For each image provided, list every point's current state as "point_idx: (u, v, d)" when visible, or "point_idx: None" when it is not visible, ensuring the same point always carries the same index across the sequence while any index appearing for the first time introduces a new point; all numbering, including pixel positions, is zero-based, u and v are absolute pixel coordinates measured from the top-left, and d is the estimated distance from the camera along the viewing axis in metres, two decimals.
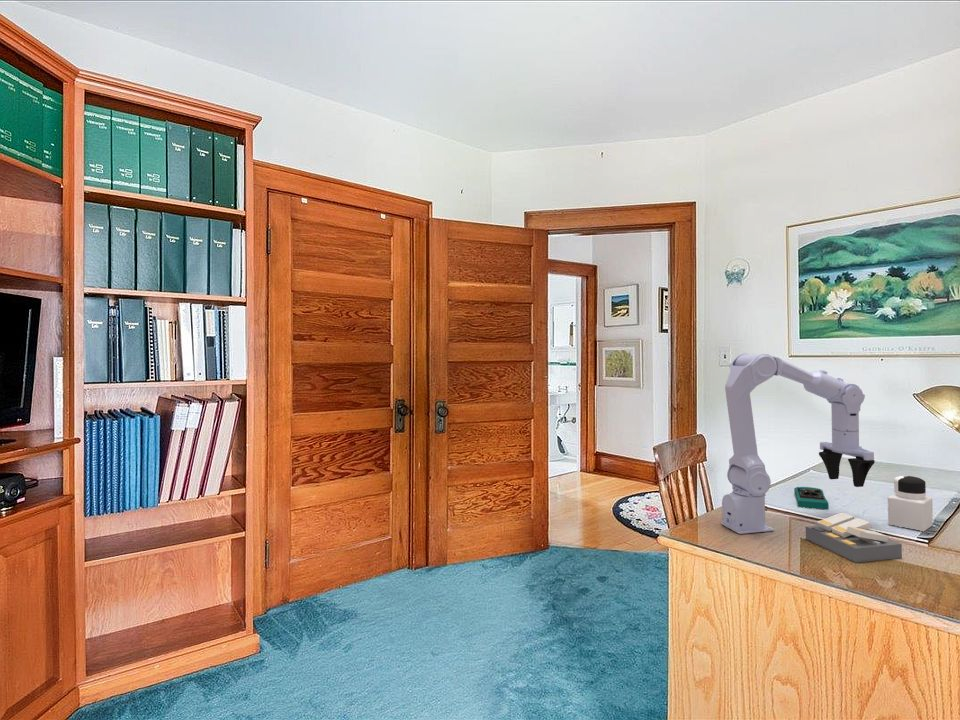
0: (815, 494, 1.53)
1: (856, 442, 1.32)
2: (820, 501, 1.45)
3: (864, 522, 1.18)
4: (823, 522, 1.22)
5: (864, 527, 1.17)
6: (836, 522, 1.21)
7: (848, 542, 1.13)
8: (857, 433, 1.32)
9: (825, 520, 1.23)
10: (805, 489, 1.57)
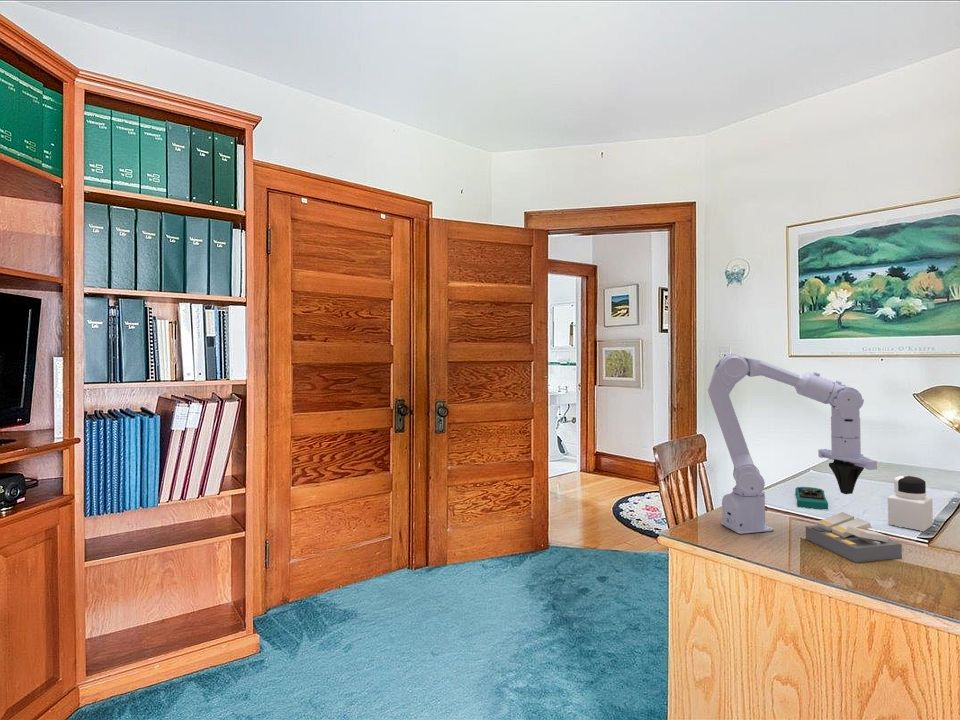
0: (816, 494, 1.53)
1: (858, 449, 1.22)
2: (820, 501, 1.45)
3: (864, 522, 1.18)
4: (823, 522, 1.22)
5: (864, 527, 1.17)
6: (836, 522, 1.21)
7: (848, 542, 1.13)
8: (858, 440, 1.22)
9: (825, 520, 1.23)
10: (806, 489, 1.57)
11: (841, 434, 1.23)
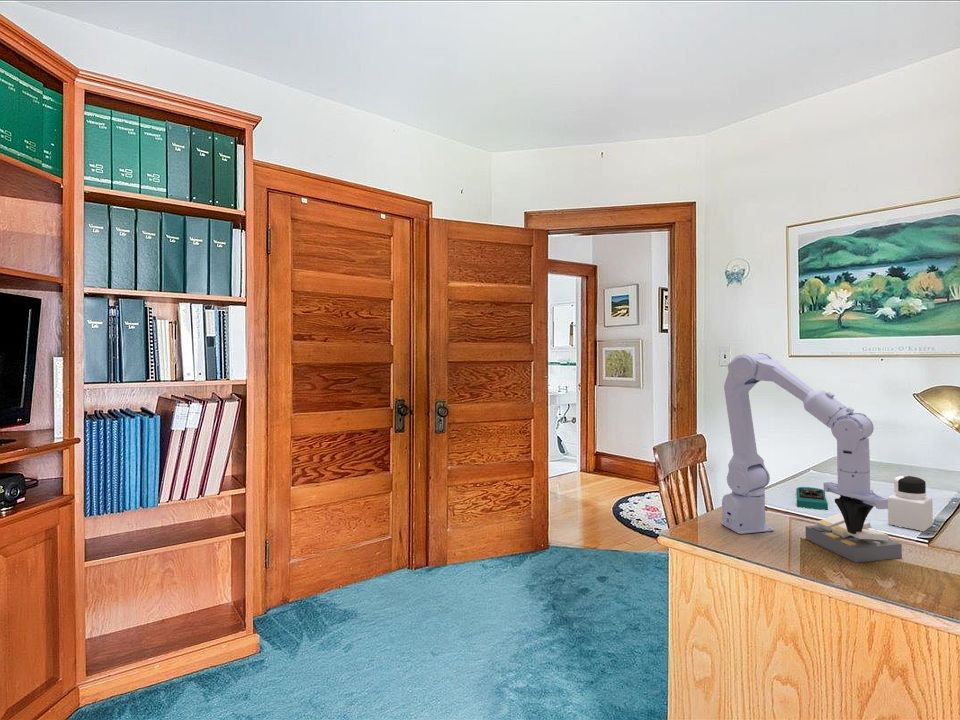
0: (816, 494, 1.52)
1: (867, 485, 1.10)
2: (819, 501, 1.45)
3: (864, 522, 1.18)
4: (823, 522, 1.22)
5: (864, 527, 1.17)
6: (836, 522, 1.21)
7: (848, 542, 1.13)
8: (868, 475, 1.11)
9: (825, 520, 1.23)
10: (807, 489, 1.57)
11: (840, 466, 1.13)
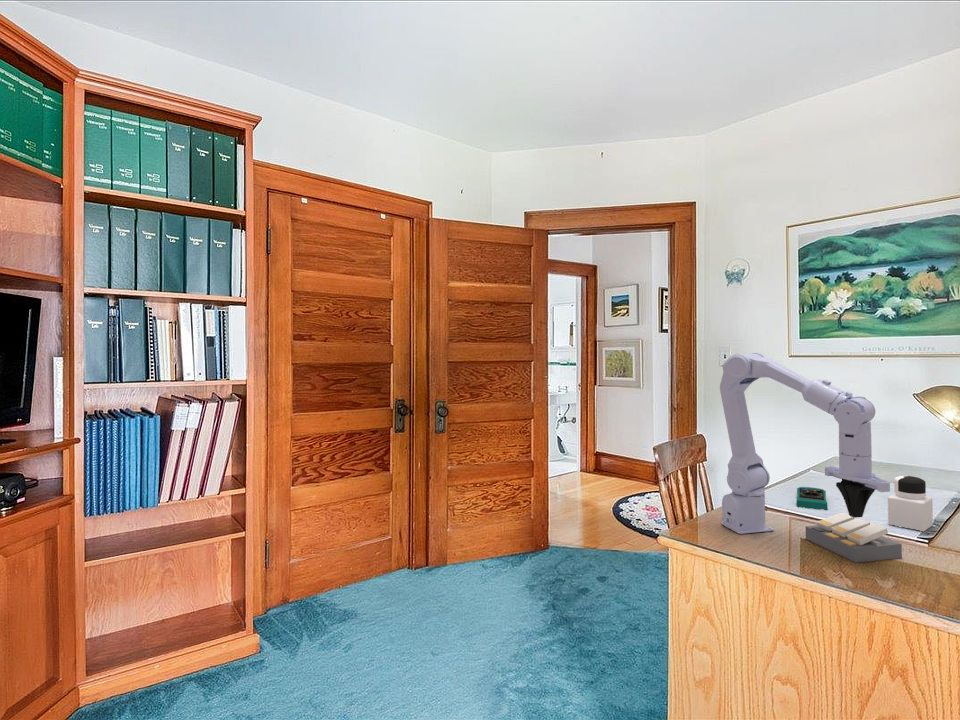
0: (816, 494, 1.52)
1: (868, 469, 1.10)
2: (819, 501, 1.45)
3: (864, 522, 1.18)
4: (823, 522, 1.22)
5: None
6: (836, 522, 1.21)
7: (848, 542, 1.13)
8: (869, 458, 1.11)
9: (825, 520, 1.23)
10: (807, 489, 1.57)
11: (842, 450, 1.13)
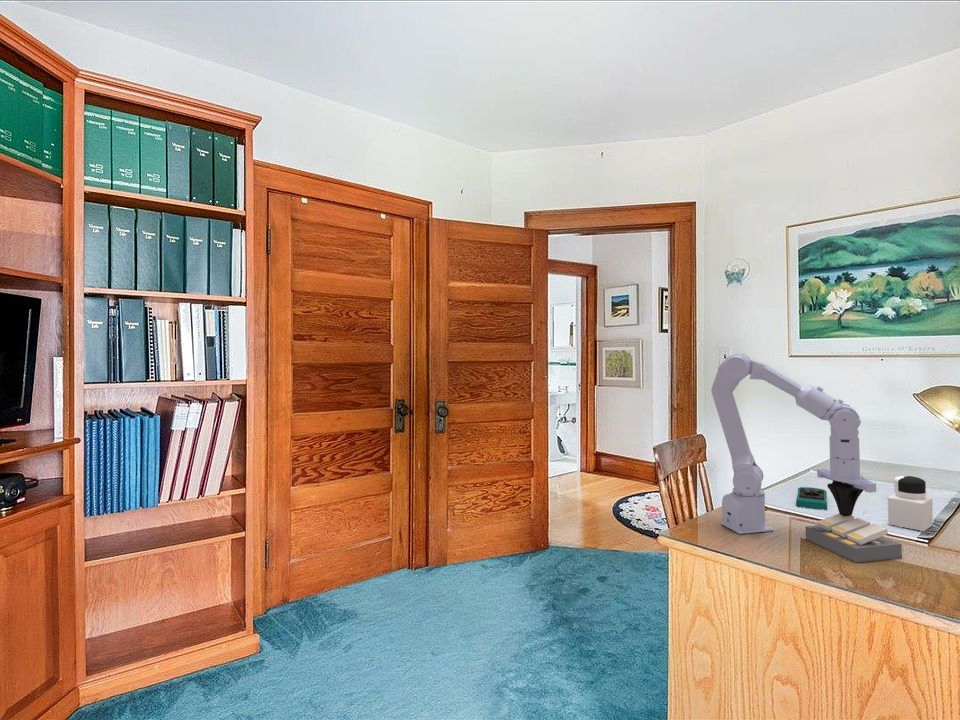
0: (817, 494, 1.52)
1: (857, 471, 1.20)
2: (818, 501, 1.45)
3: (864, 522, 1.18)
4: (823, 522, 1.22)
5: None
6: (836, 522, 1.21)
7: (848, 542, 1.13)
8: (858, 461, 1.20)
9: (825, 520, 1.23)
10: (808, 489, 1.57)
11: (837, 455, 1.21)
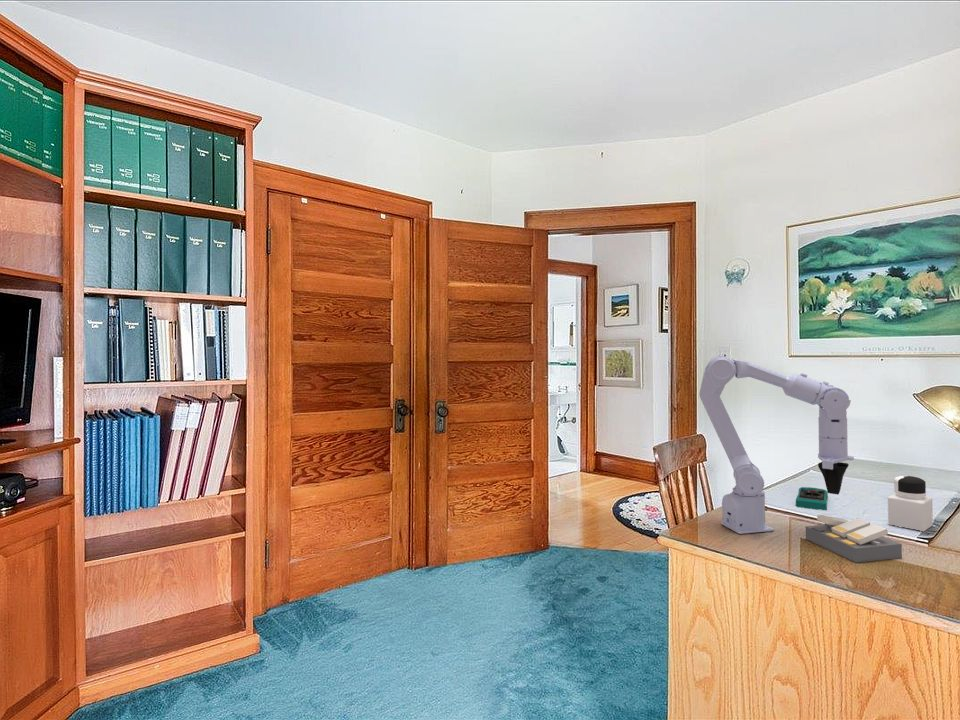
0: (817, 495, 1.52)
1: (833, 450, 1.23)
2: (818, 501, 1.45)
3: (864, 522, 1.18)
4: (824, 516, 1.22)
5: None
6: None
7: (848, 542, 1.13)
8: (835, 441, 1.23)
9: (826, 516, 1.23)
10: (809, 489, 1.56)
11: (828, 434, 1.24)
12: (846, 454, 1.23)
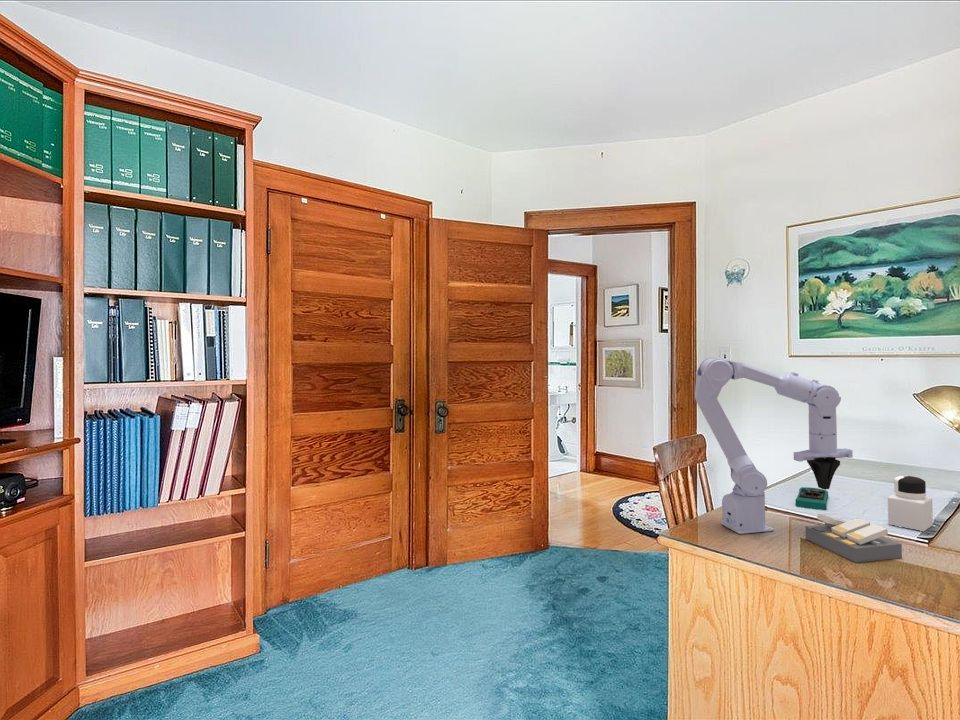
0: (818, 495, 1.52)
1: (814, 445, 1.28)
2: (818, 501, 1.45)
3: (864, 522, 1.18)
4: (824, 516, 1.22)
5: None
6: (837, 520, 1.21)
7: (848, 542, 1.13)
8: (816, 436, 1.27)
9: (826, 516, 1.23)
10: (809, 490, 1.56)
11: (820, 431, 1.27)
12: (829, 451, 1.26)
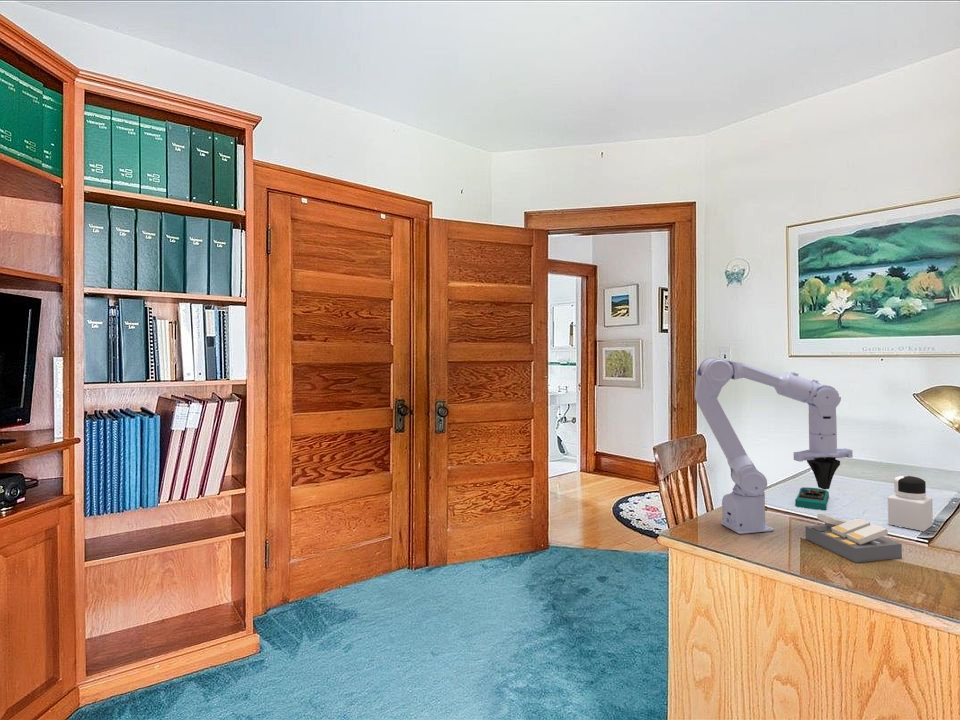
0: (818, 495, 1.52)
1: (814, 445, 1.28)
2: (817, 501, 1.45)
3: (864, 522, 1.18)
4: (824, 515, 1.22)
5: None
6: (837, 520, 1.21)
7: (848, 542, 1.13)
8: (816, 436, 1.27)
9: (826, 516, 1.23)
10: (810, 490, 1.56)
11: (820, 431, 1.27)
12: (829, 451, 1.26)
